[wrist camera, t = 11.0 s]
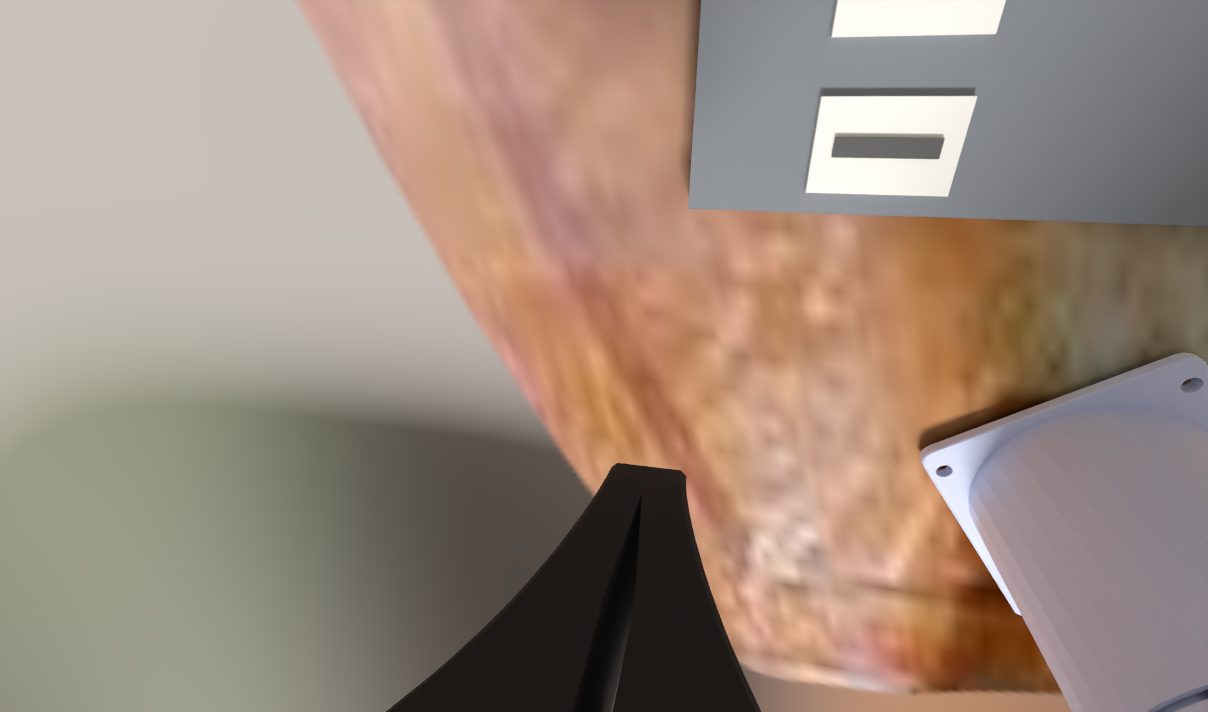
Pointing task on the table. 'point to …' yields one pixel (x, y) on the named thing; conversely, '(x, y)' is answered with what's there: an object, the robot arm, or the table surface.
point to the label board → (954, 109)
